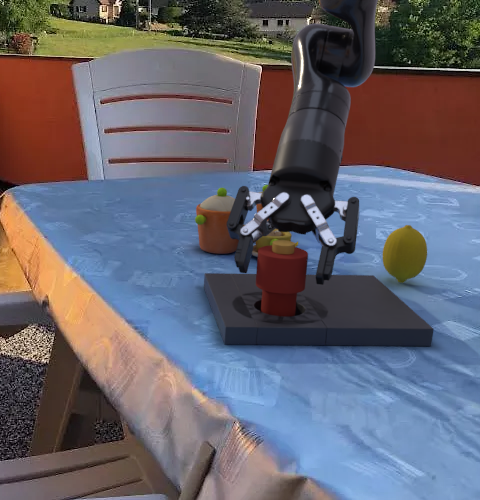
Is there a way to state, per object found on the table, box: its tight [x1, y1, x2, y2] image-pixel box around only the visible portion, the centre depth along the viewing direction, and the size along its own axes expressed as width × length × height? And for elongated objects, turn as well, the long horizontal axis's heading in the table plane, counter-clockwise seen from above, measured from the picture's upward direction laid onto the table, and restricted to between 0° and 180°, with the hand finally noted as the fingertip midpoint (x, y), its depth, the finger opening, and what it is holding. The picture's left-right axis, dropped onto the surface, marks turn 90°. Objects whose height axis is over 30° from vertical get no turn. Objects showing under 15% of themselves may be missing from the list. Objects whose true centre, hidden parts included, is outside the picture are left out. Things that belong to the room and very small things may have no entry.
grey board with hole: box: [203, 272, 434, 347], centre depth 83 cm, size 22×18×2 cm
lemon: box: [382, 224, 428, 284], centre depth 94 cm, size 6×6×8 cm
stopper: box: [255, 240, 309, 316], centre depth 79 cm, size 5×5×10 cm
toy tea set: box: [194, 184, 299, 258], centre depth 113 cm, size 26×16×10 cm, turn 168°
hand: (280, 275), depth 77 cm, fingers open, 8 cm apart
